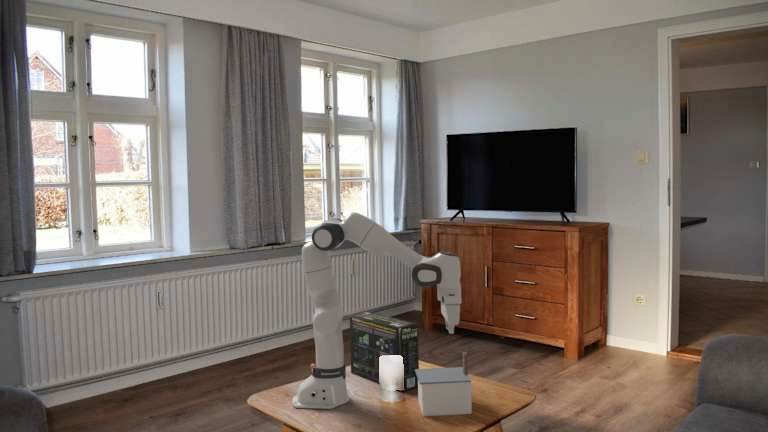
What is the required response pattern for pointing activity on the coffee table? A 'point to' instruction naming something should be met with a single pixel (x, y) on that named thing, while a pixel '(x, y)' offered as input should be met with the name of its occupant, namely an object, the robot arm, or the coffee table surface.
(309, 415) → the coffee table surface
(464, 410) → the carton
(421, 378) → the lid flap
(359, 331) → the router box
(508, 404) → the coffee table surface
